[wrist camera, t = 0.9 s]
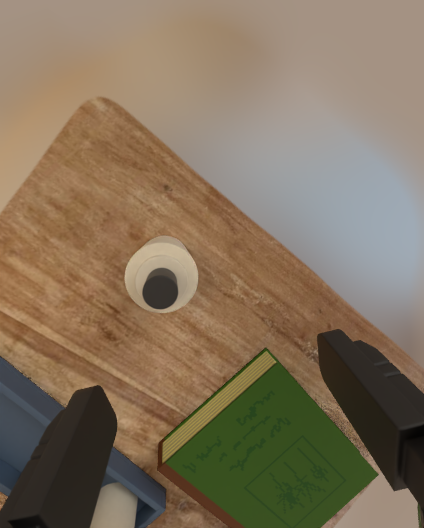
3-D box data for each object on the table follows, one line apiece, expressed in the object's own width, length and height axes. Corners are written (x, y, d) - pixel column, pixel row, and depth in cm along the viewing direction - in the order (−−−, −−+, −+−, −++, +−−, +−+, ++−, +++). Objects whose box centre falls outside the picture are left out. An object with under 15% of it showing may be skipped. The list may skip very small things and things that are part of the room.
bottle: (129, 257, 28) (92, 289, 15) (167, 225, 29) (164, 228, 15) (162, 292, 30) (156, 352, 16) (198, 262, 30) (222, 295, 16)
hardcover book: (158, 442, 33) (157, 470, 29) (265, 347, 33) (277, 362, 30) (270, 535, 39) (281, 568, 35) (361, 453, 39) (381, 477, 35)
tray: (-85, 401, 27) (-111, 419, 25) (-16, 343, 27) (-35, 355, 25) (111, 536, 34) (107, 561, 32) (166, 489, 34) (165, 510, 32)
